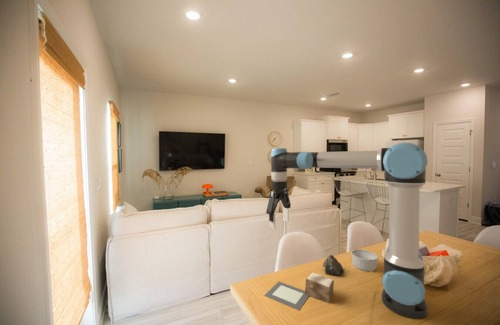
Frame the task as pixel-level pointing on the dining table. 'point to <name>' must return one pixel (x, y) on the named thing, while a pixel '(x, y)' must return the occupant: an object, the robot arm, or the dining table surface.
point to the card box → (319, 287)
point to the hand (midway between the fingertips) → (279, 224)
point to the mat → (287, 295)
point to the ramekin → (364, 259)
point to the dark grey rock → (333, 266)
